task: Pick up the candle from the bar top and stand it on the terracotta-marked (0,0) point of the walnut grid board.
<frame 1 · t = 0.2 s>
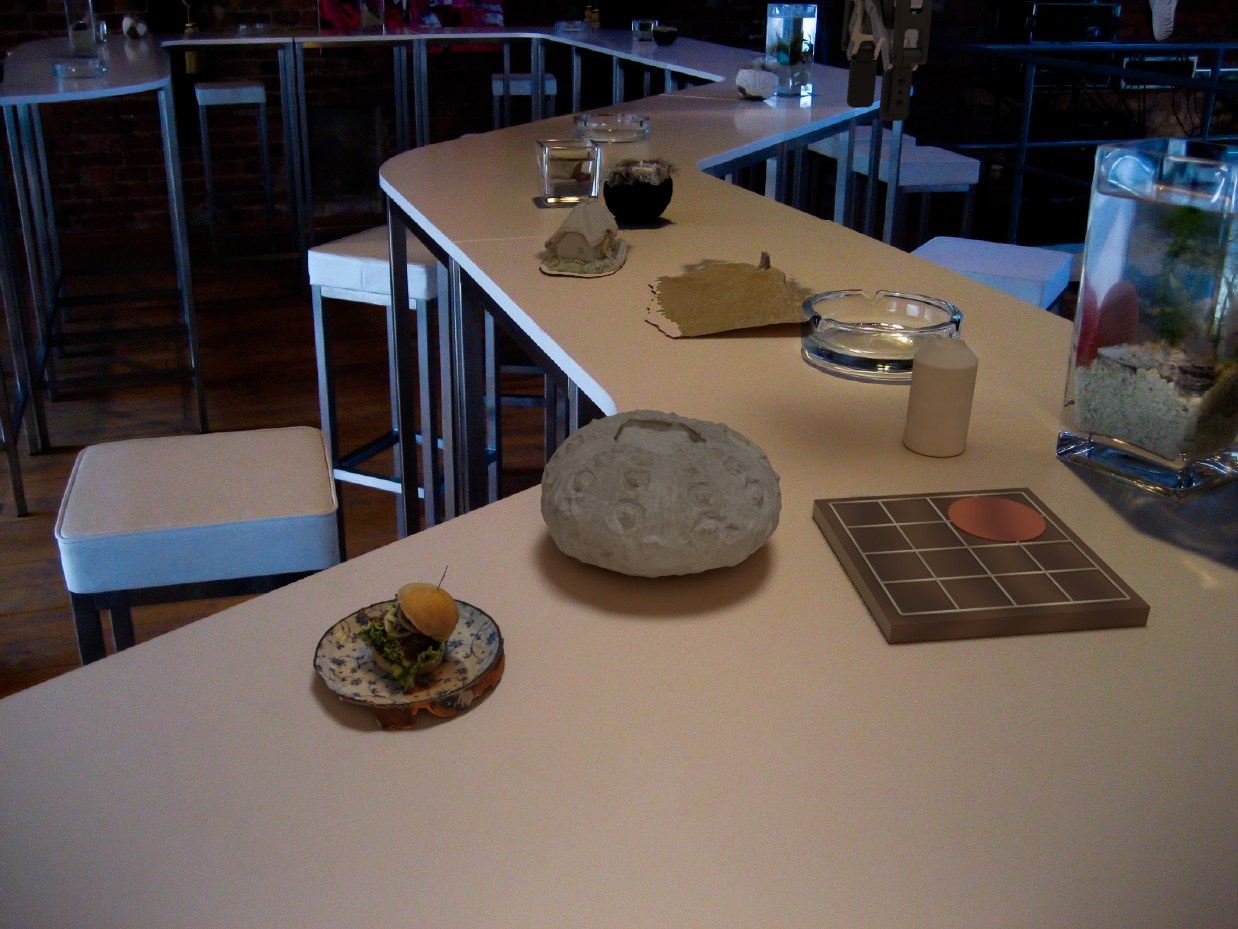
hand: (875, 113, 91), 29 cm above the worktop, tool pointing down, fingers open, 8 cm apart
board: (964, 565, 80), on the worktop
candle: (933, 447, 100), on the worktop
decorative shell: (660, 552, 82), on the worktop
ceramic model: (585, 267, 156), on the worktop
leather hide: (726, 308, 138), on the worktop
burger: (412, 672, 69), on the worktop
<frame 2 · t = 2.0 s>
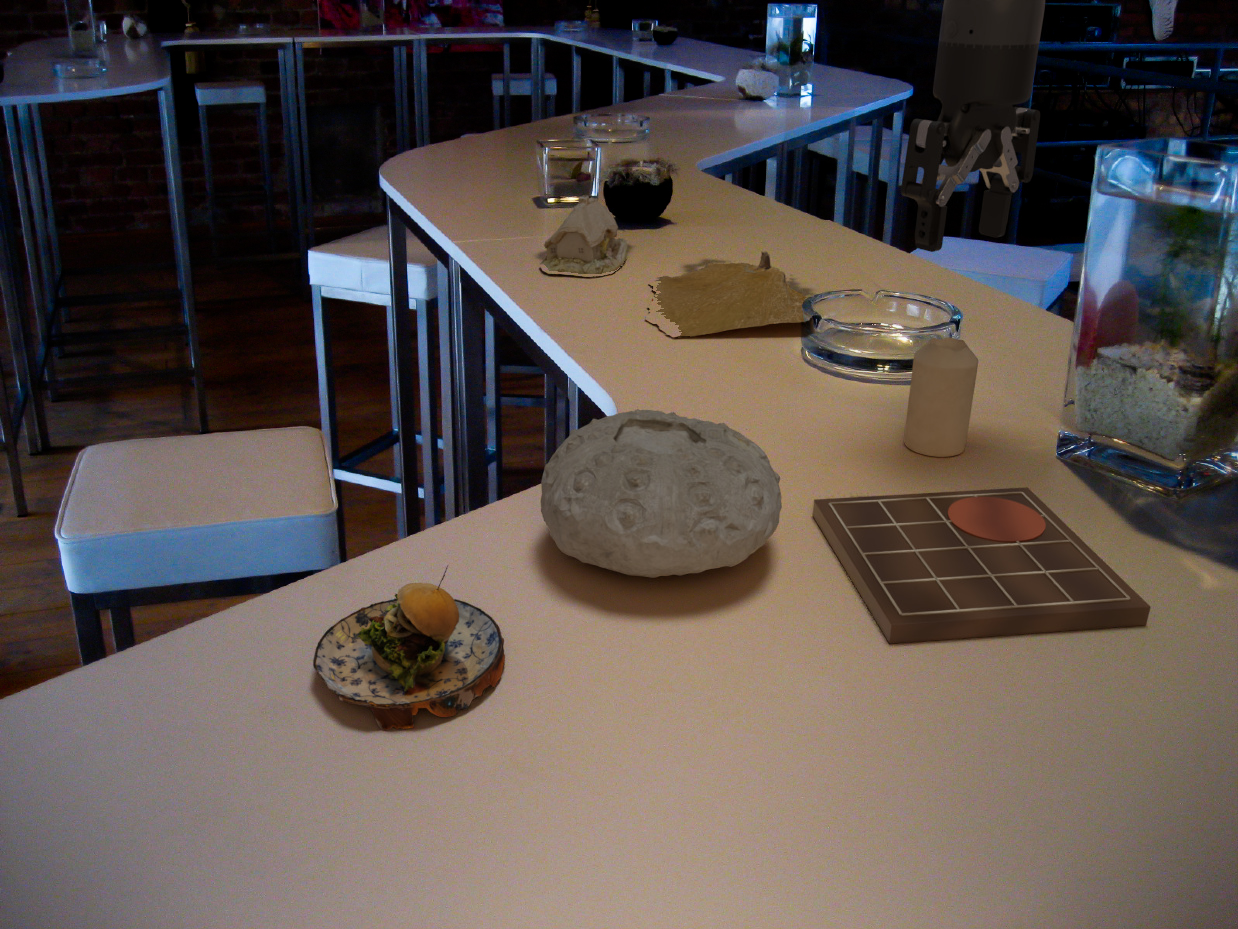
hand: (960, 242, 92), 19 cm above the worktop, tool pointing down, fingers open, 8 cm apart
nothing on the worktop moved.
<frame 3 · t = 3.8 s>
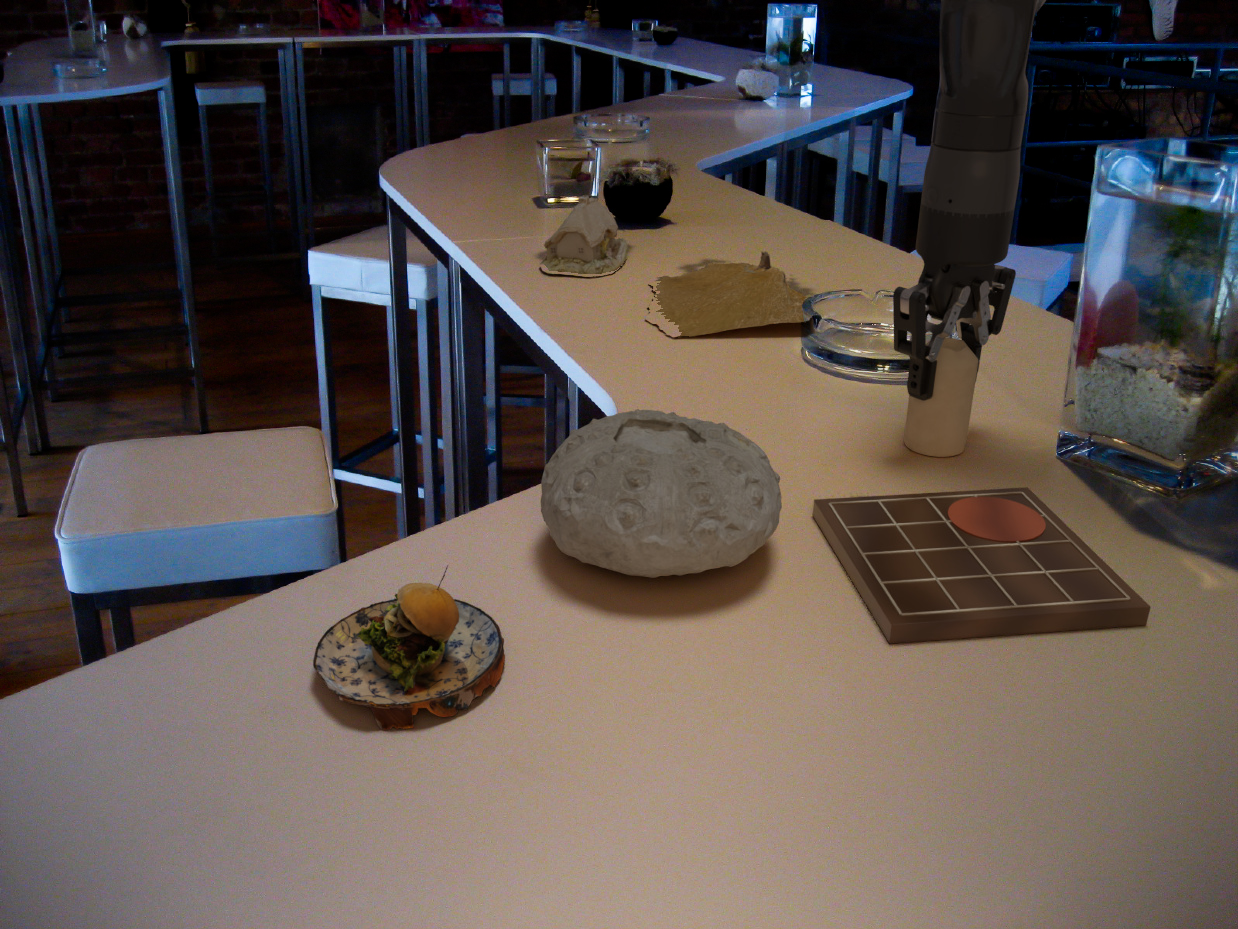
hand: (941, 389, 97), 6 cm above the worktop, tool pointing down, fingers closed on candle, 5 cm apart
candle: (933, 447, 100), on the worktop, touching gripper
everything else where it was.
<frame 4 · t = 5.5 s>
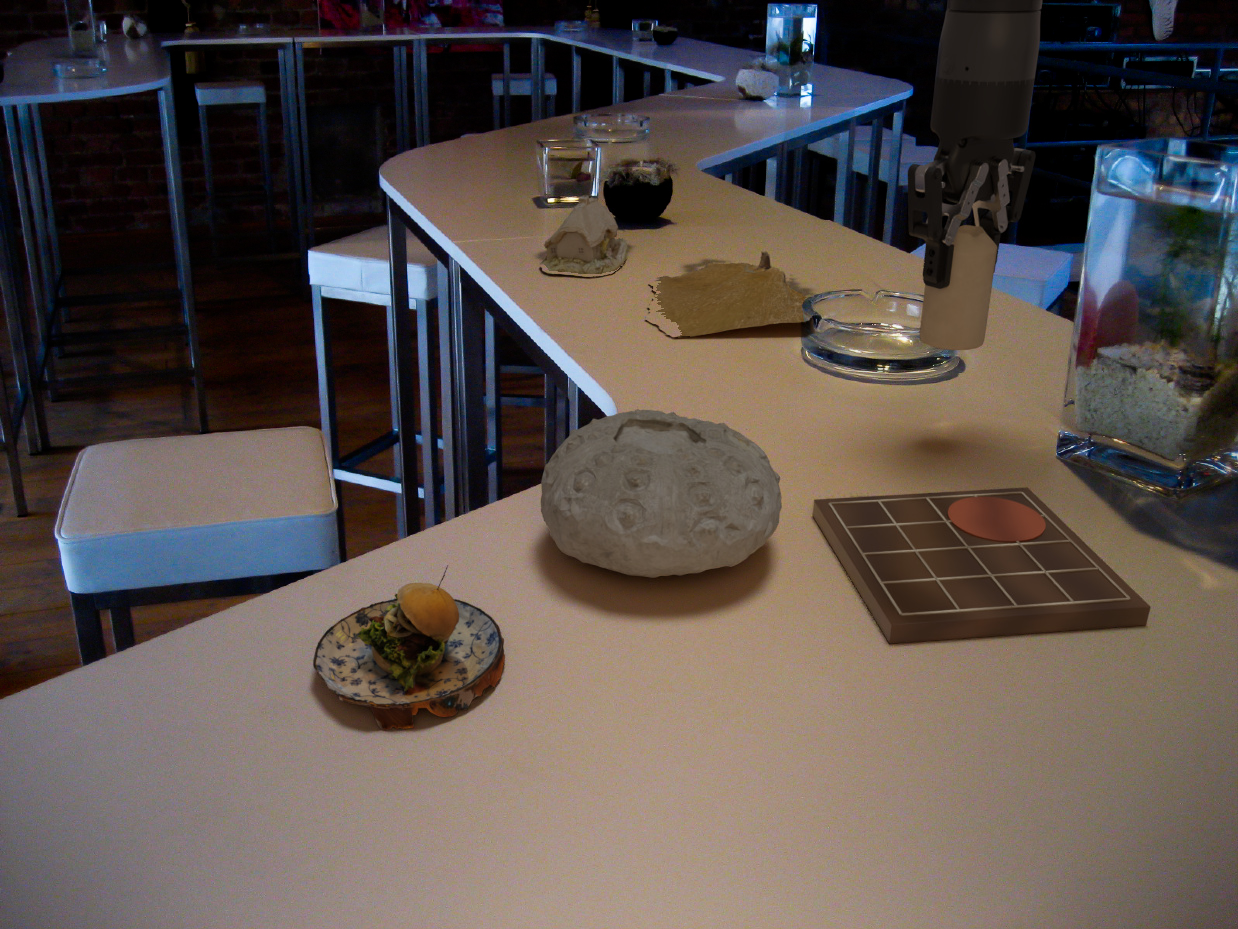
hand: (959, 279, 93), 16 cm above the worktop, tool pointing down, fingers closed on candle, 5 cm apart
candle: (951, 342, 96), point 10 cm above the worktop, touching gripper
everything else where it was.
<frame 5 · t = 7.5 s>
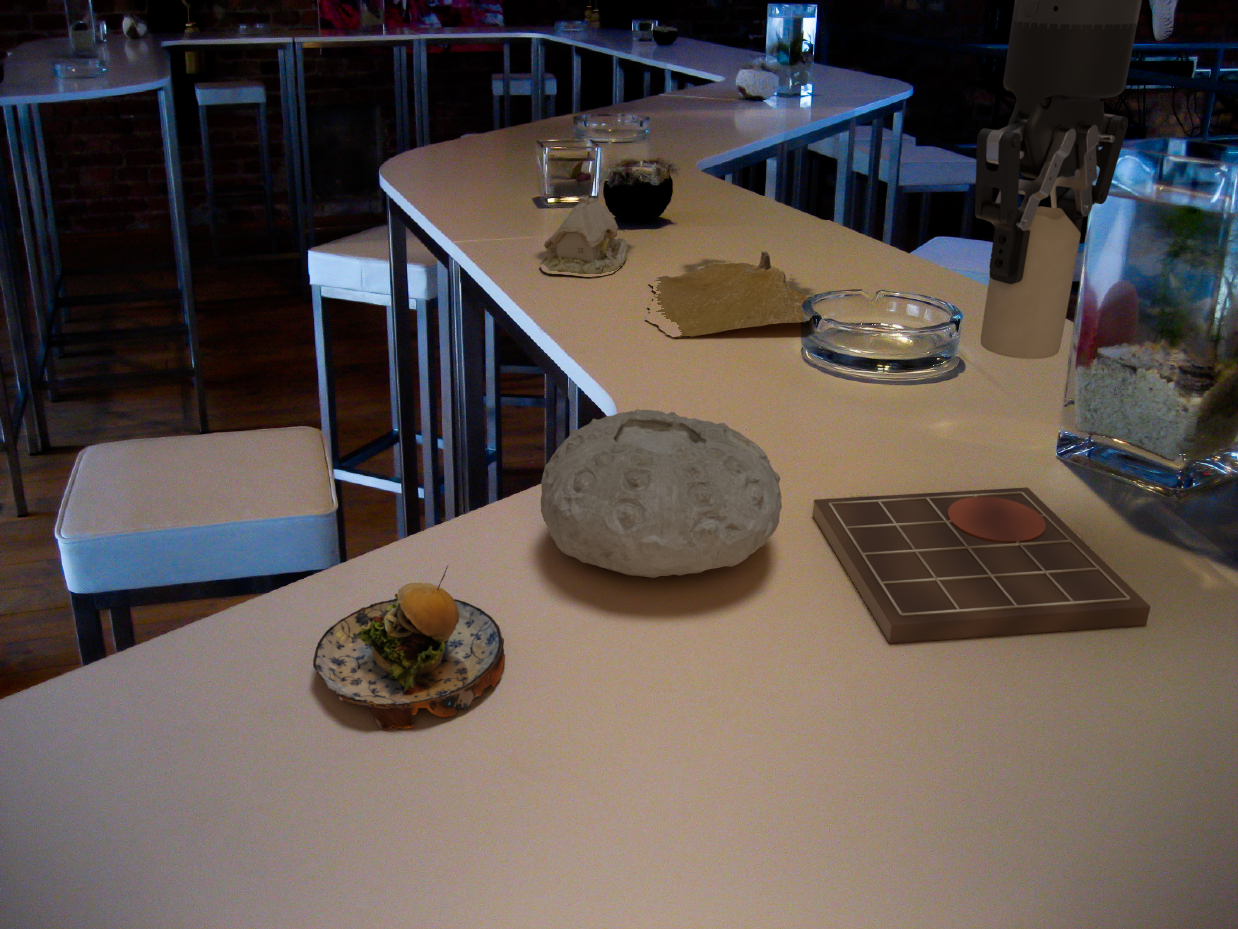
hand: (1031, 273, 77), 21 cm above the worktop, tool pointing down, fingers closed on candle, 5 cm apart
candle: (1018, 349, 79), point 15 cm above the worktop, touching gripper
everything else where it was.
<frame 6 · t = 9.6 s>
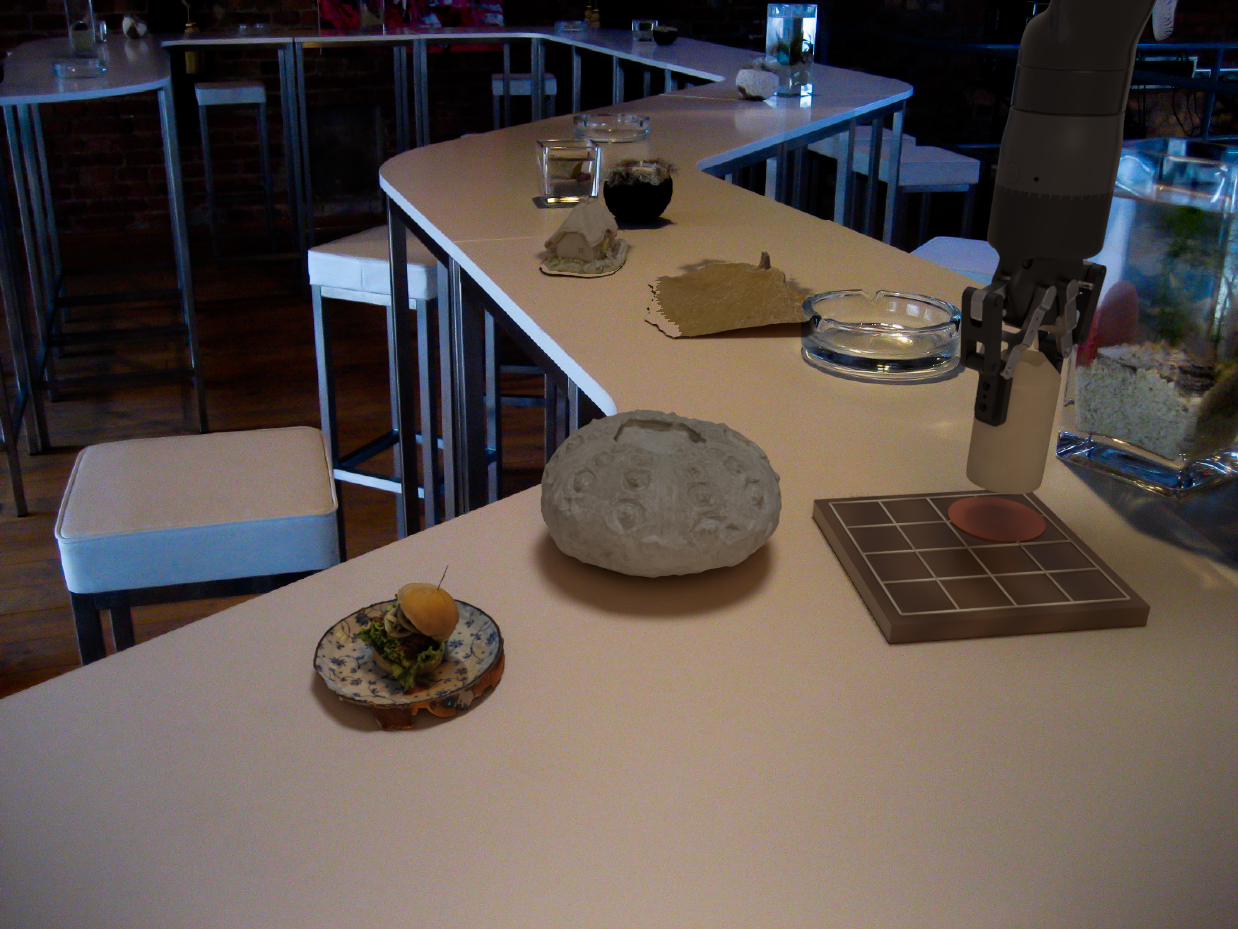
hand: (1014, 411, 80), 10 cm above the worktop, tool pointing down, fingers closed on candle, 5 cm apart
candle: (1002, 481, 82), point 5 cm above the worktop, touching gripper
everything else where it was.
when the fingers open (7 cm above the worktop, at t = 11.0 s): candle stays where it is, resting on board.
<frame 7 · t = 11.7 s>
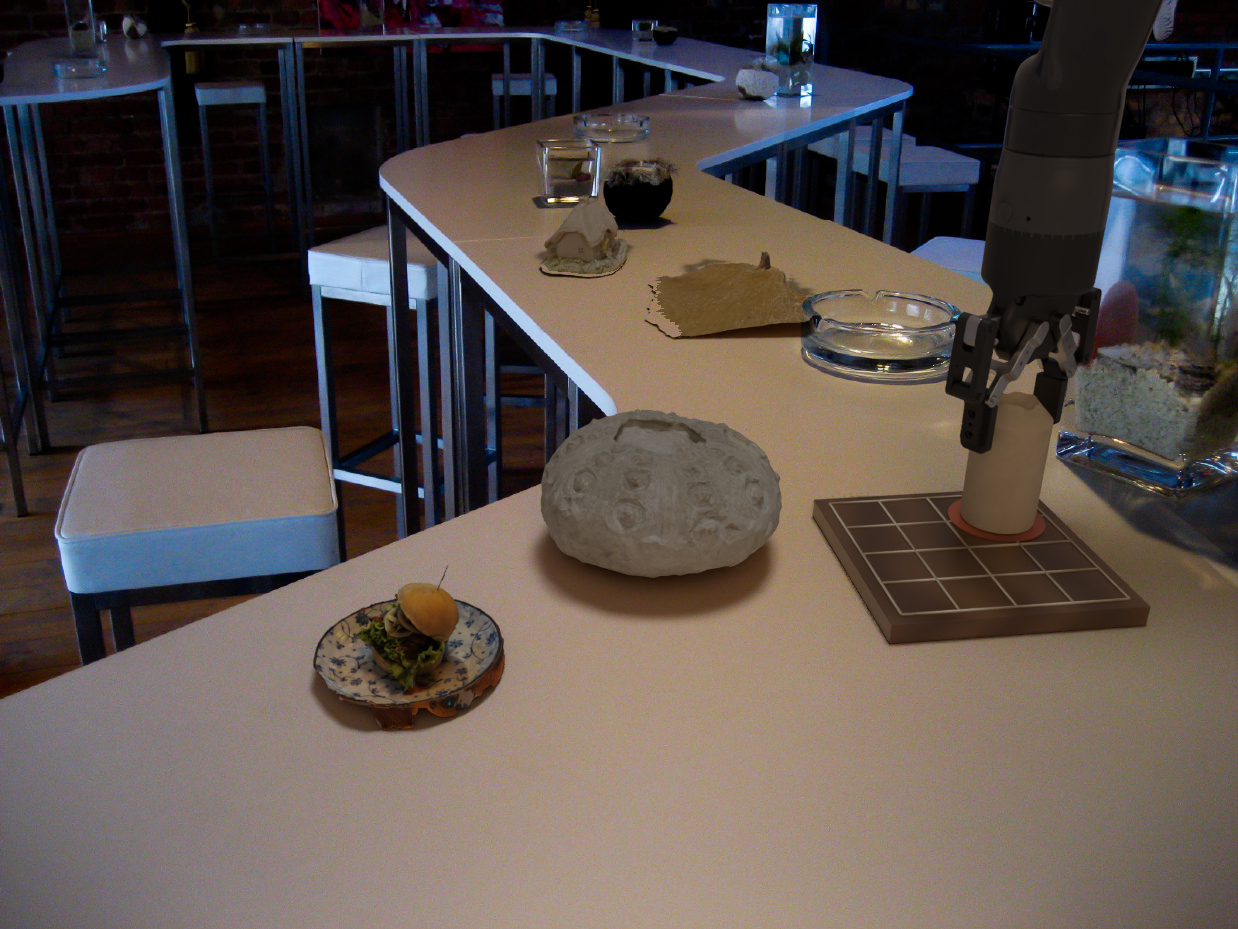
hand: (1010, 435, 81), 9 cm above the worktop, tool pointing down, fingers open, 8 cm apart
candle: (996, 520, 84), point 1 cm above the worktop, touching board
everything else where it was.
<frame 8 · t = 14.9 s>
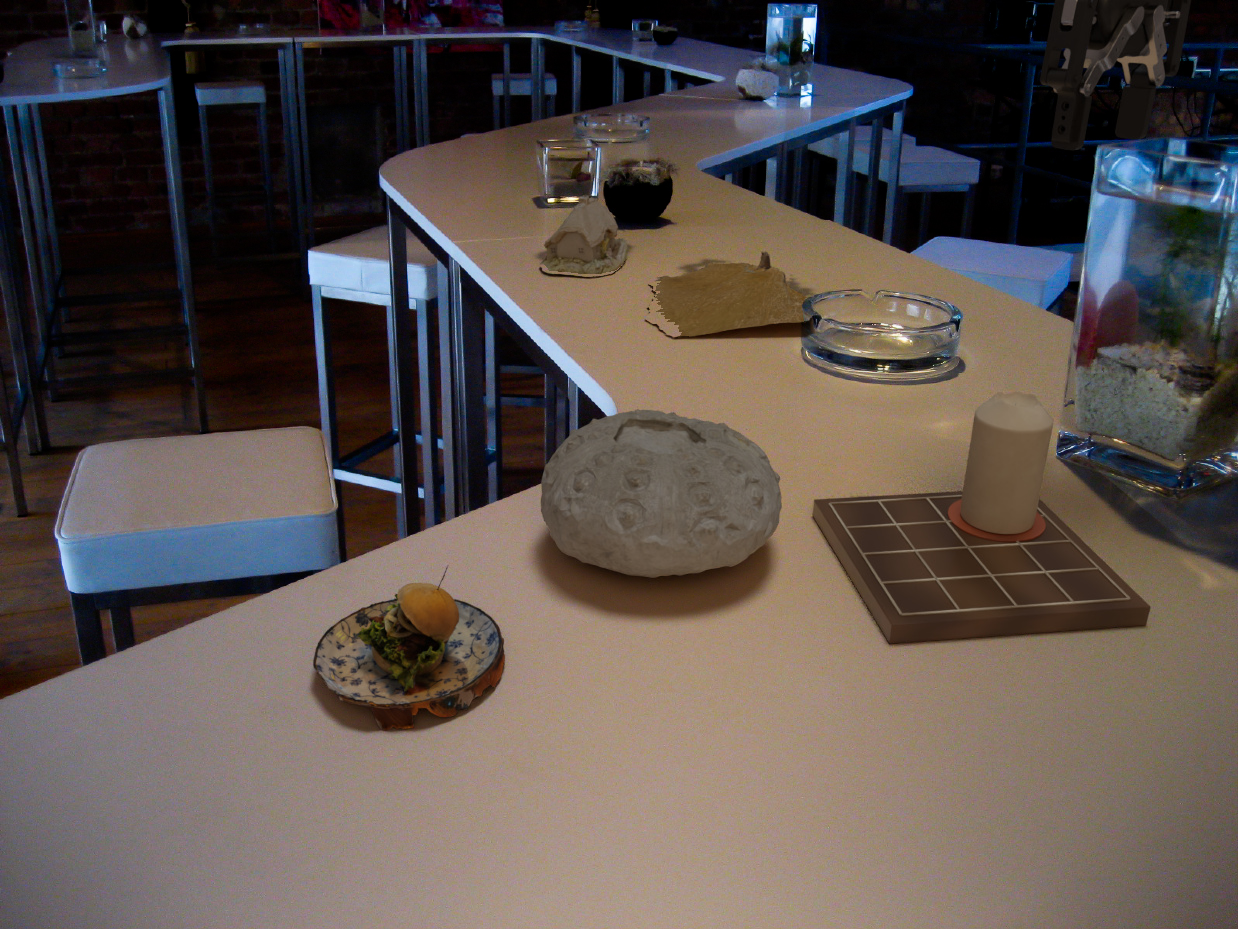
hand: (1099, 143, 81), 28 cm above the worktop, tool pointing down, fingers open, 8 cm apart
nothing on the worktop moved.
at the end: candle 0.0 cm from the target spot on the board, point 1.4 cm above the board's base; candle tilted 0°; the gripper is holding nothing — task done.
